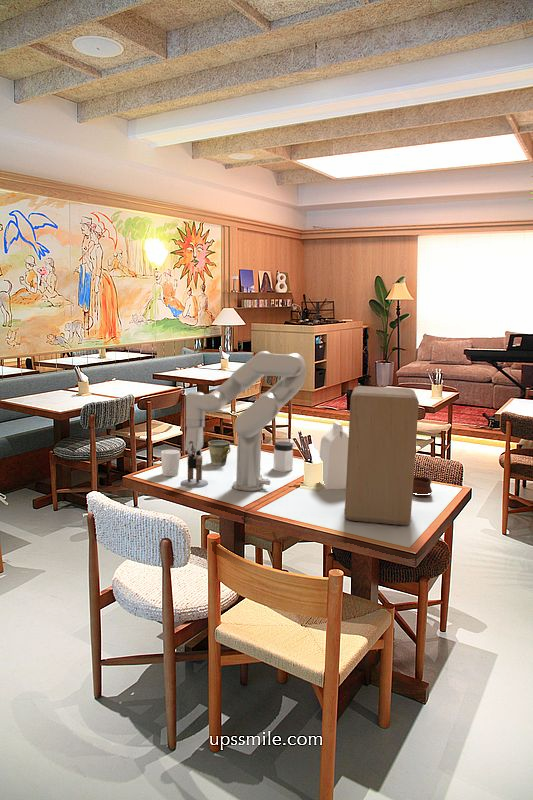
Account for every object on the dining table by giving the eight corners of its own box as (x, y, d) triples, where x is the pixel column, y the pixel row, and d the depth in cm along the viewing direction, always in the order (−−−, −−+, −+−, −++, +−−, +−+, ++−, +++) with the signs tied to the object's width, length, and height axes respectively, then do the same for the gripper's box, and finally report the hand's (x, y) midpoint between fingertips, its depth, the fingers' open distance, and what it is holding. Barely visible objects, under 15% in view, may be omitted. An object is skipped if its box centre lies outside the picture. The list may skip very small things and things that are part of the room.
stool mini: (189, 477, 256) (190, 454, 254) (203, 479, 255) (204, 455, 253) (185, 481, 250) (185, 457, 248) (199, 483, 249) (199, 459, 247)
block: (410, 528, 209) (419, 396, 202) (343, 522, 213) (350, 393, 206) (407, 507, 231) (415, 388, 224) (347, 502, 235) (353, 384, 228)
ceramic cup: (203, 462, 286) (203, 441, 284) (220, 459, 292) (220, 439, 291) (221, 468, 276) (221, 447, 275) (238, 465, 283) (238, 444, 281)
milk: (317, 481, 262) (319, 420, 258) (342, 479, 265) (345, 420, 261) (326, 489, 250) (329, 426, 246) (353, 488, 253) (356, 425, 249)
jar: (272, 466, 282) (272, 441, 280) (289, 466, 284) (290, 441, 282) (275, 472, 274) (276, 445, 272) (293, 471, 275) (294, 445, 273)
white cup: (181, 472, 268) (181, 450, 267) (177, 477, 261) (177, 454, 259) (163, 471, 269) (163, 449, 268) (158, 476, 261) (159, 453, 260)
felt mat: (211, 481, 257) (211, 480, 257) (203, 488, 246) (203, 487, 246) (185, 478, 259) (185, 477, 259) (177, 486, 248) (177, 485, 248)
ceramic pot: (434, 505, 235) (435, 487, 234) (390, 496, 245) (391, 479, 244) (449, 495, 250) (450, 478, 249) (407, 487, 259) (408, 470, 259)
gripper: (193, 418, 258) (192, 460, 261) (179, 426, 241) (179, 470, 244) (210, 419, 256) (209, 461, 259) (197, 427, 240) (197, 472, 242)
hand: (194, 465), depth 251 cm, fingers closed on stool mini, 6 cm apart
